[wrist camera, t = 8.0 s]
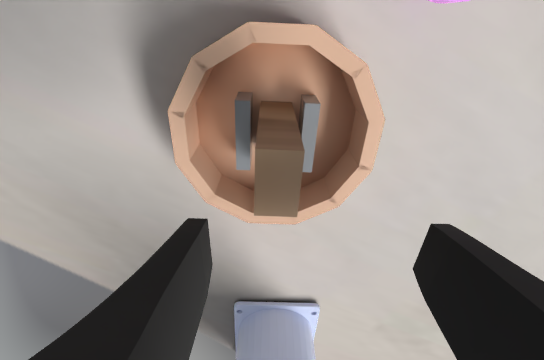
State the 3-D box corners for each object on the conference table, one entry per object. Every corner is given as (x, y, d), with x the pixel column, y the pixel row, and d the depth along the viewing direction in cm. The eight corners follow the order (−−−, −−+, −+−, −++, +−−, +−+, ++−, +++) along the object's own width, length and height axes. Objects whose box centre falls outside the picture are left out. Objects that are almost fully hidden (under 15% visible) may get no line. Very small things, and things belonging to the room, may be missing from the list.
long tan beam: (287, 149, 17) (297, 217, 11) (259, 148, 17) (254, 215, 11) (291, 102, 16) (304, 151, 10) (260, 100, 16) (255, 148, 10)
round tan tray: (346, 199, 20) (358, 226, 17) (195, 194, 20) (184, 221, 17) (383, 27, 15) (408, 29, 12) (174, 17, 14) (153, 16, 12)
